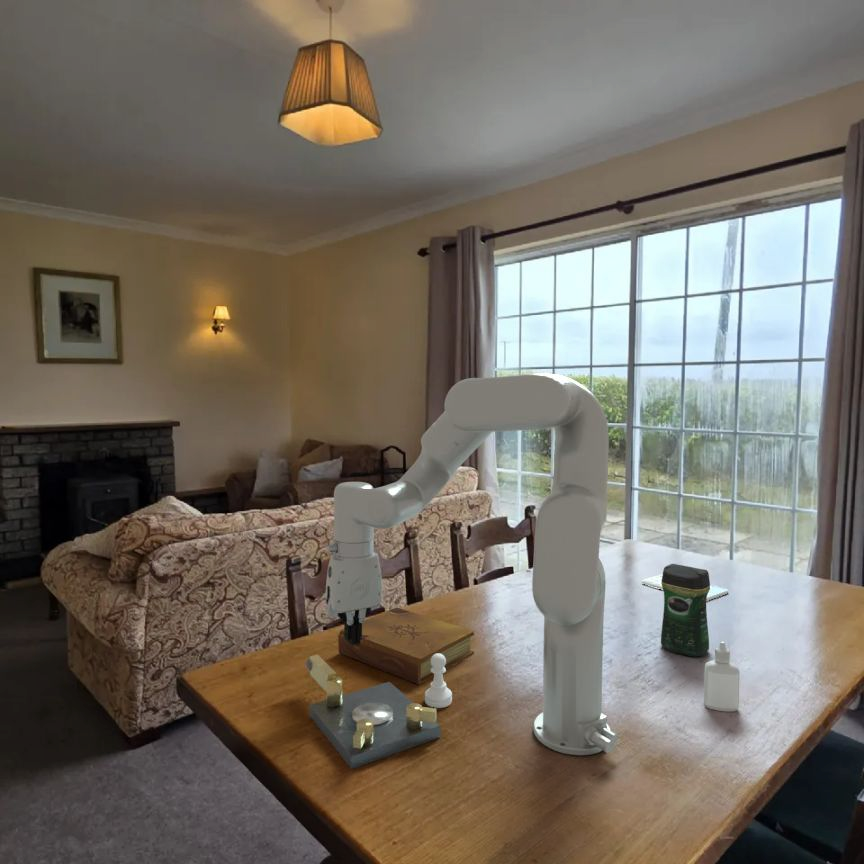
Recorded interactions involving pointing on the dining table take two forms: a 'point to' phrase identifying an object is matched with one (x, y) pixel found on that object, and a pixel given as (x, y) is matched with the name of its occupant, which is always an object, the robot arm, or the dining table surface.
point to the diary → (407, 644)
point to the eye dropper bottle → (721, 682)
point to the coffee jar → (685, 610)
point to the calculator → (712, 594)
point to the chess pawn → (438, 684)
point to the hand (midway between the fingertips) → (353, 641)
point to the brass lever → (326, 679)
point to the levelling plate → (375, 724)
